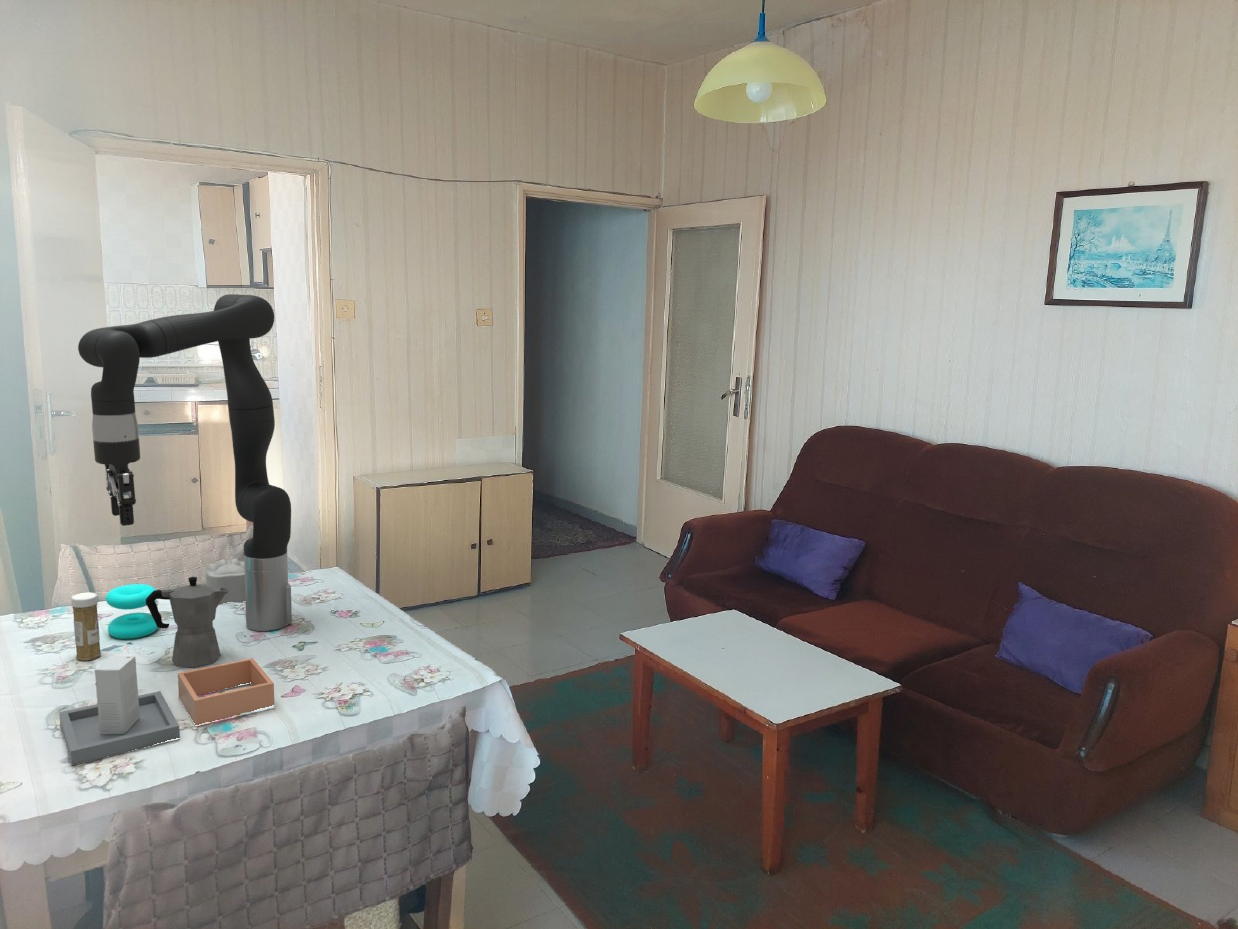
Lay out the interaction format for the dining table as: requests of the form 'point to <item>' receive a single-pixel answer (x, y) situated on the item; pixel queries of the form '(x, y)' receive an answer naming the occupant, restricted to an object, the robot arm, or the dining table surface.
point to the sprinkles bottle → (86, 626)
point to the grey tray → (92, 745)
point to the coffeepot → (191, 621)
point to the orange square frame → (227, 701)
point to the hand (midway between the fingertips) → (122, 519)
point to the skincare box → (117, 694)
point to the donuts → (132, 622)
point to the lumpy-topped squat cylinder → (228, 579)
